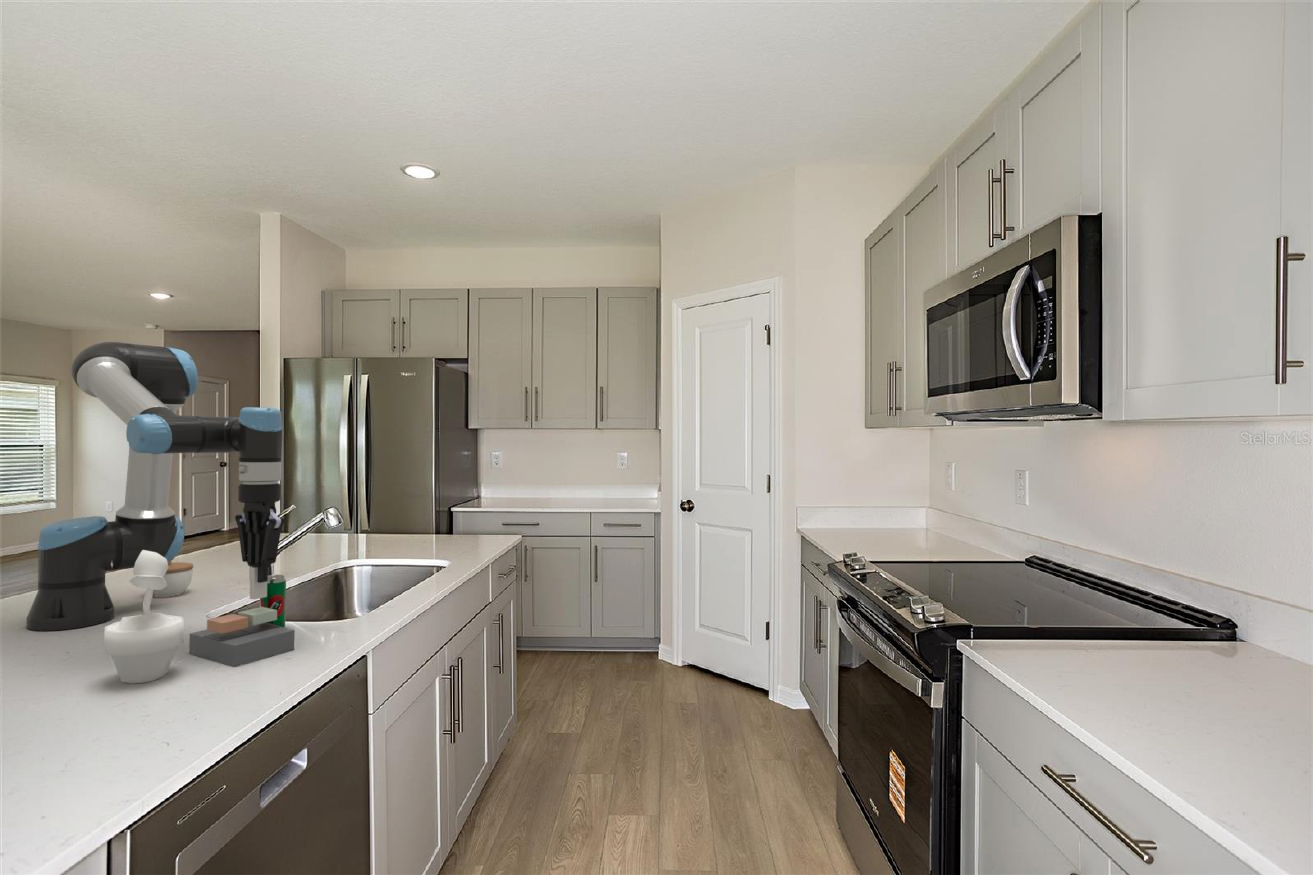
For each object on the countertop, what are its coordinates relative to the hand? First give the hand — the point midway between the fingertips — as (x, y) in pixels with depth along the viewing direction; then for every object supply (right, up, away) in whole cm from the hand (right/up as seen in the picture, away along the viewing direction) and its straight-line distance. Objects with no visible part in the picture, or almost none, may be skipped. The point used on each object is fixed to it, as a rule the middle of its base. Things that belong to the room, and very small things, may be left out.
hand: (258, 597), depth 138 cm
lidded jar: (-49, -10, +43) cm, 66 cm away
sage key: (0, -5, 0) cm, 5 cm away
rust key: (-3, -5, -5) cm, 8 cm away
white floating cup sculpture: (-10, -10, -18) cm, 23 cm away
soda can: (-4, -10, +12) cm, 17 cm away
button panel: (-2, -10, -3) cm, 11 cm away
